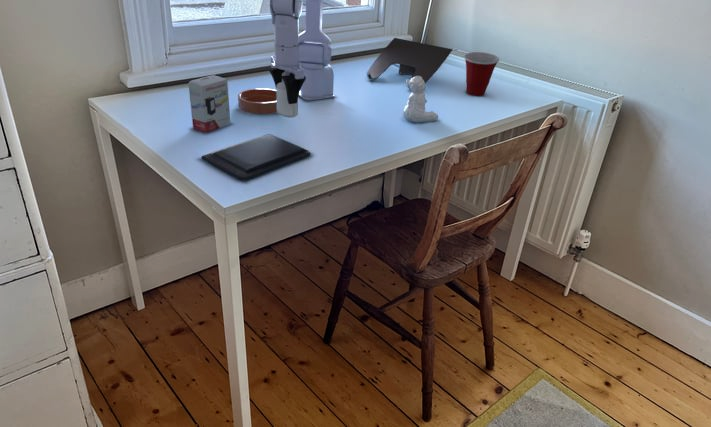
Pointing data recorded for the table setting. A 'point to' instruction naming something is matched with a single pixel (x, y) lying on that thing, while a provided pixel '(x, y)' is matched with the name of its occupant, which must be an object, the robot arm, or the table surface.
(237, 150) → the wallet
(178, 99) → the table surface
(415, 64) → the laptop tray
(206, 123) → the ink box
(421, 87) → the white creature statuette
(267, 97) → the bowl
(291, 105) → the eye dropper bottle
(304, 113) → the table surface
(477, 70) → the plastic cup
